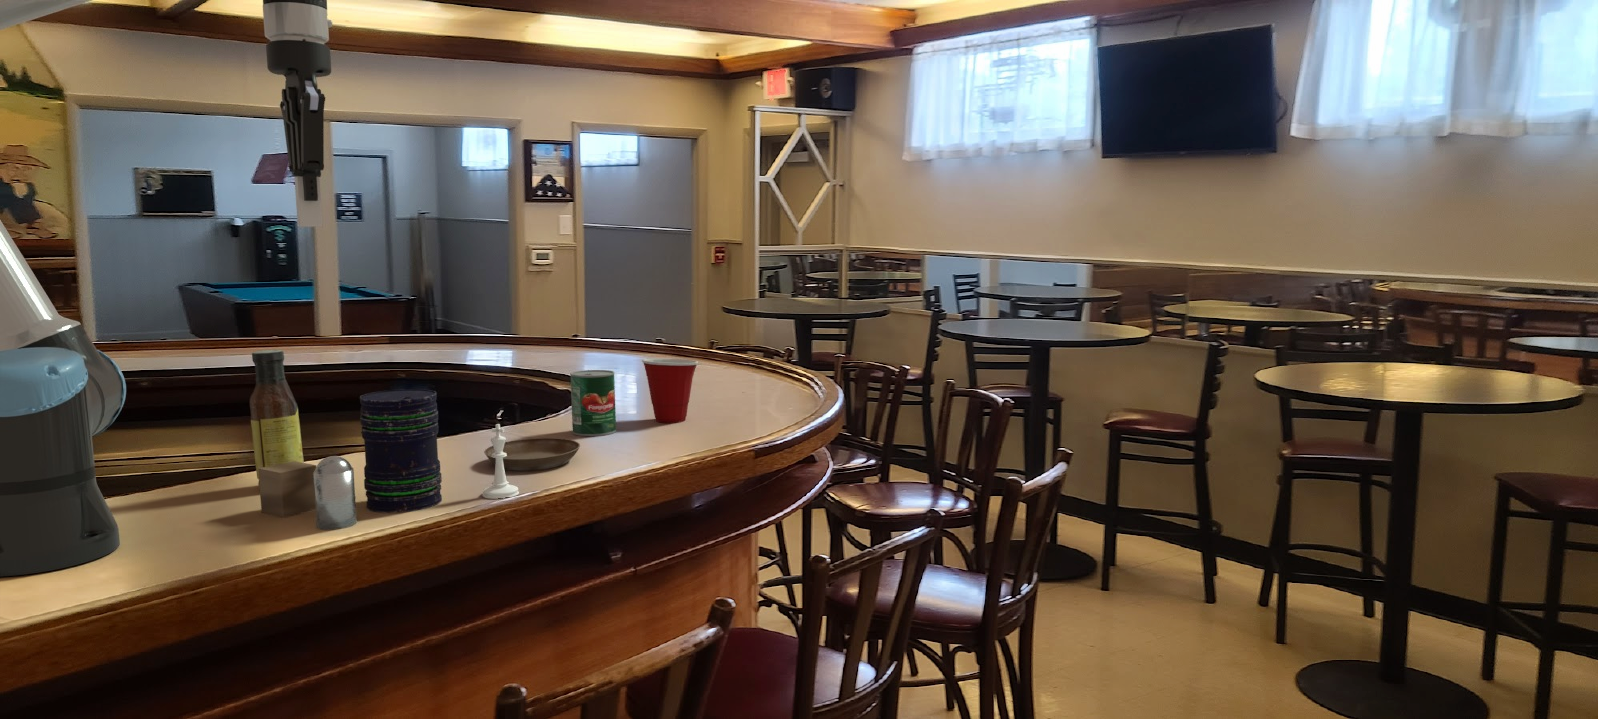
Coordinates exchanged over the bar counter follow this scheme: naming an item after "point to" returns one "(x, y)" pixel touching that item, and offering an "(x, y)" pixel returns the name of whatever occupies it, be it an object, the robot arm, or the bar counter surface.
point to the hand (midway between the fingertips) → (310, 226)
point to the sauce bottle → (273, 413)
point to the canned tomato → (593, 402)
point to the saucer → (536, 453)
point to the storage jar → (401, 450)
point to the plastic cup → (670, 387)
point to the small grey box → (287, 489)
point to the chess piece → (499, 470)
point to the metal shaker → (334, 494)
